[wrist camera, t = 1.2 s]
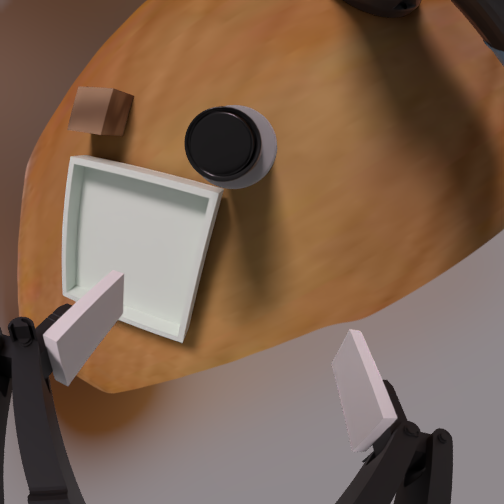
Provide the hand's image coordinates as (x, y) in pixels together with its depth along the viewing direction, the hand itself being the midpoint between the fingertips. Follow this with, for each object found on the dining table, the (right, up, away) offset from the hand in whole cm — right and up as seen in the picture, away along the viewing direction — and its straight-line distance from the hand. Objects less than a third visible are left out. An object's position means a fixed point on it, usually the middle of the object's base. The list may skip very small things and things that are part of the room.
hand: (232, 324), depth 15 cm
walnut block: (-17, +22, +15) cm, 32 cm away
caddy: (-14, +5, +20) cm, 26 cm away
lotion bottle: (+1, +16, +16) cm, 23 cm away
